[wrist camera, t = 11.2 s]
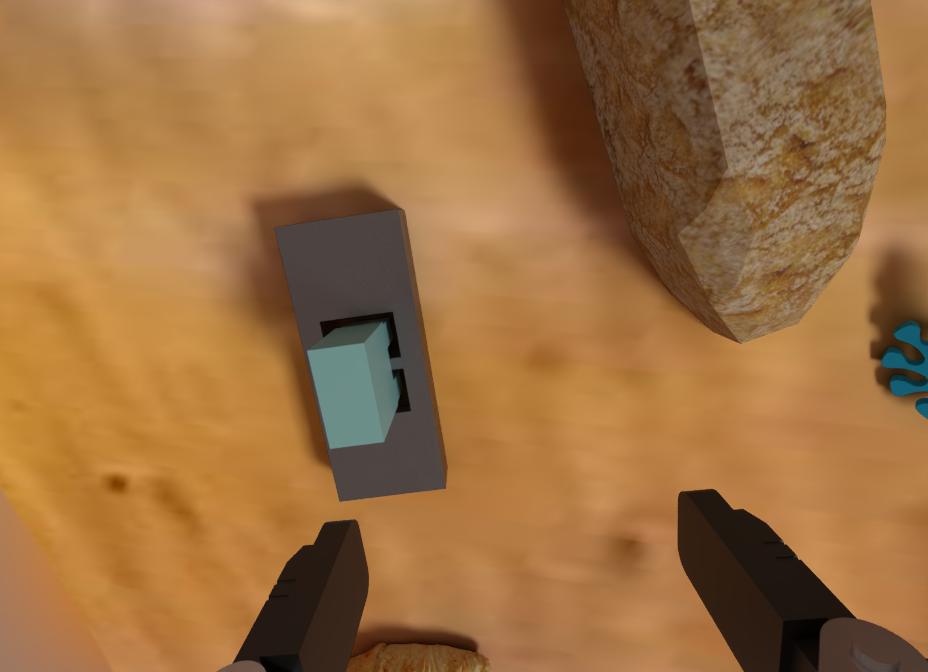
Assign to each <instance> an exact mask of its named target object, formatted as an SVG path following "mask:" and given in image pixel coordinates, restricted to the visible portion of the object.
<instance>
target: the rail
mask: <svg viewBox="0 0 928 672" xmlns="http://www.w3.org/2000/svg"><path fill="white" fill-rule="evenodd" d="M274 228H275V232H276V236H277V241H278V245H279V249H280V253H281V257H282V262H283V266H284V270H285V274H286V278H287V283H288V287H289V291H290V295H291V299H292V304H293V308H294V312H295V316H296V320H297V325H298V329H299V333H300V337H301V341H302V346H303V350H304V354H305V358H306V362H307V367H308V371H309V375H310V379H311V384H312V388H313V392H314V396H315V400H316V405H317V409H318V413H319V417H320V421H321V426H322V430H323V434H324V438H325V442H326V447H327V451H328V455H329V459H330V463H331V468H332V472H333V476H334V480H335V484H336V489H337V493H338V497H339V501H340V502H341V501H349V500H357V499H365V498H373V497H381V496H389V495H397V494H405V493H413V492H421V491H429V490H438V489H446V481H447V468H448V467H447V461H446V455H445V449H444V443H443V437H442V431H441V425H440V419H439V413H438V407H437V401H436V395H435V389H434V383H433V377H432V371H431V365H430V359H429V353H428V347H427V341H426V335H425V329H424V323H423V317H422V311H421V305H420V299H419V293H418V287H417V281H416V276H415V270H414V264H413V258H412V252H411V246H410V240H409V234H408V228H407V222H406V216H405V211H404V210H400V209H396V210H389V211H382V212H375V213H369V214H362V215H355V216H348V217H342V218H335V219H328V220H321V221H315V222H308V223H301V224H294V225H288V226H281V227H274ZM386 312H393V315H394V320H395V325H396V331H397V336H398V342H399V347H394V348H388V354H389V359H390V364H391V370H394V369H402V368H403V369H404V375H405V380H406V385H407V391H408V396H407V397H399V400H398V407H397V409H396V412H395V414H394V417H393V420H392V422H391V425H390V428H389V430H388V433H387V436H386V438H385V441H384V442H380V443H373V444H365V445H357V446H349V447H341V448H333V449H330V447H329V442H328V438H327V434H326V430H325V425H324V421H323V417H322V413H321V408H320V404H319V400H318V396H317V391H316V387H315V383H314V379H313V374H312V370H311V366H310V362H309V357H308V353H307V350H309V349H310V348H311V347H312V346H314V345H315V344H316V343H318V342H319V341H320V340H321V339H323V338H324V337H325V336H327V335H328V334H329V333H330V332H332V331H333V330H334V329H335V328H336V327H335V322H334V320H336V319H343V318H350V317H357V316H364V315H371V314H379V313H386Z"/></svg>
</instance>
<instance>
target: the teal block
mask: <svg viewBox="0 0 928 672" xmlns="http://www.w3.org/2000/svg"><path fill="white" fill-rule="evenodd" d="M392 340H393V335H392V329H391V324H390V318H389V317H388V318H381V319H374V320H367V321H359V322H352V323H346V324H345V325H343V326H342V327H341V328H335V329H334V330H333V331H332V332H330V333H329V334H328V335H327V336H325V337H324V338H323V339H321V340H320V341H319V342H318V343H316V344H315V345H314V346H312V347H311V348H310V349H309V350H307V353H308V357H309V362H310V366H311V370H312V374H313V379H314V383H315V387H316V391H317V396H318V400H319V404H320V408H321V413H322V417H323V421H324V425H325V430H326V434H327V438H328V442H329V447H330V449H333V448H341V447H349V446H357V445H365V444H373V443H380V442H384V441H385V438H386V436H387V433H388V430H389V428H390V425H391V422H392V420H393V417H394V414H395V412H396V409H397V407H398V400H399V397H400V395H401V392H402V390H403V389H402V383H401V378H400V373H399V369H398V370H391V364H390V359H389V354H388V348H387V347H388V346H389V344H390V343H391V341H392Z"/></svg>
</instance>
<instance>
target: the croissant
mask: <svg viewBox="0 0 928 672" xmlns="http://www.w3.org/2000/svg"><path fill="white" fill-rule="evenodd" d="M489 661H490V660H489V659H488V658H486V657H484V656H483V655H481V654H479V653H474V652H472V651H470V650H462V649H457V648H454V647H451V646H445V645H438V644H436V645H423V644H417V643H412V644H389V645H388V646H386V644H385V643H379V644H377V645H376V646H375V647H373V648H372V649H371V650H369V651H368V652H366V653H364V654H360V655H358V656H355V657H352V658H350V660H349V663H348V667H347V670H346V672H492V671H493V669H492V668H491V664H490V663H489Z"/></svg>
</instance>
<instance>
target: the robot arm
mask: <svg viewBox="0 0 928 672" xmlns="http://www.w3.org/2000/svg"><path fill="white" fill-rule="evenodd" d="M678 552H679V556H680V560H681V563H682V566H683V568H684V571H685V573H686V574H687V576H688V578H689V580H690V581H691V583H692V585H693V586H694V588H695V590H696V591H697V593H698V595H699V596H700V598H701V600H702V602H703V603H704V605H705V607H706V608H707V610H708V612H709V613H710V615H711V617H712V618H713V620H714V622H715V624H716V625H717V627H718V629H719V630H720V632H721V634H722V635H723V637H724V639H725V640H726V642H727V644H728V646H729V647H730V649H731V651H732V652H733V654H734V656H735V657H736V659H737V661H738V662H739V664H740V666H741V668H742V669H743V671H744V672H928V659H926V658H924V656H923V655H922V654H921V653H920V652H919V651H918V650H917V649H915V648H914V647H913V646H912V645H911V644H909V643H908V642H907V641H905V640H904V639H902V638H901V637H899V636H898V635H896V634H894V633H893V632H891V631H889V630H887V629H885V628H883V627H881V626H878V625H876V624H873V623H870V622H867V621H864V620H860V619H857V618H856V617H855V616H854V615H853V614H852V613H851V612H850V611H849V610H848V609H847V608H846V607H845V606H844V605H843V604H842V603H841V602H840V600H839V599H838V598H837V597H836V596H835V595H834V594H833V593H832V592H831V591H830V590H829V589H828V588H827V587H826V586H825V585H824V584H823V583H822V581H821V580H820V579H819V578H818V577H817V576H816V575H815V574H814V573H813V572H812V571H811V570H810V569H809V568H808V567H807V566H806V565H805V564H804V562H803V561H802V560H798V558H797V555H796V554H795V553H794V552H793V551H792V550H791V549H790V548H789V547H788V546H787V545H784V543H783V540H782V539H781V538H780V537H779V536H778V535H777V534H776V533H775V532H774V531H773V530H772V529H771V528H770V527H769V526H768V525H767V523H765V522H763V521H762V520H760V519H759V518H757V517H755V516H754V515H752V514H750V513H749V512H747V511H745V510H744V509H738V510H733V509H732V508H731V507H730V505H729V504H728V503H727V502H726V501H725V500H724V499H723V497H722V496H721V495H720V494H719V493H718V492H717V491H716V490H714V489H706V490H694V491H683V492H680V493H679V496H678ZM368 587H369V573H368V566H367V561H366V557H365V552H364V547H363V543H362V538H361V533H360V529H359V525H358V522H357V521H356V520H355V519H354V520H343V521H332V522H326V523H324V525H323V526H322V528H321V530H320V532H319V535H318V537H317V539H316V541H315V543H314V545H305V546H303V547H302V548H301V549H300V550H299V551H298V552H297V553H296V554H295V555H294V556H293V557H292V558H291V559H290V560H289V561H288V562H287V563H286V565H285V567H284V569H283V571H282V573H281V575H280V576H279V578H278V580H277V584H276V585H275V586H274V588H273V589H272V591H271V593H270V595H269V600H267V601H266V602H265V604H264V606H263V608H262V610H261V612H260V614H259V615H258V617H257V619H256V621H255V623H254V625H253V627H252V628H251V630H250V632H249V634H248V636H247V638H246V640H245V641H244V643H243V645H242V647H241V649H240V651H239V653H238V654H237V656H236V658H235V660H234V662H233V663H232V664H230V665H227V666H225V667H223V668H222V669H220V670H218V671H217V672H346V670H347V667H348V663H349V660H350V656H351V652H352V649H353V645H354V642H355V638H356V635H357V631H358V627H359V624H360V620H361V617H362V613H363V610H364V606H365V602H366V599H367V594H368Z"/></svg>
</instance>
